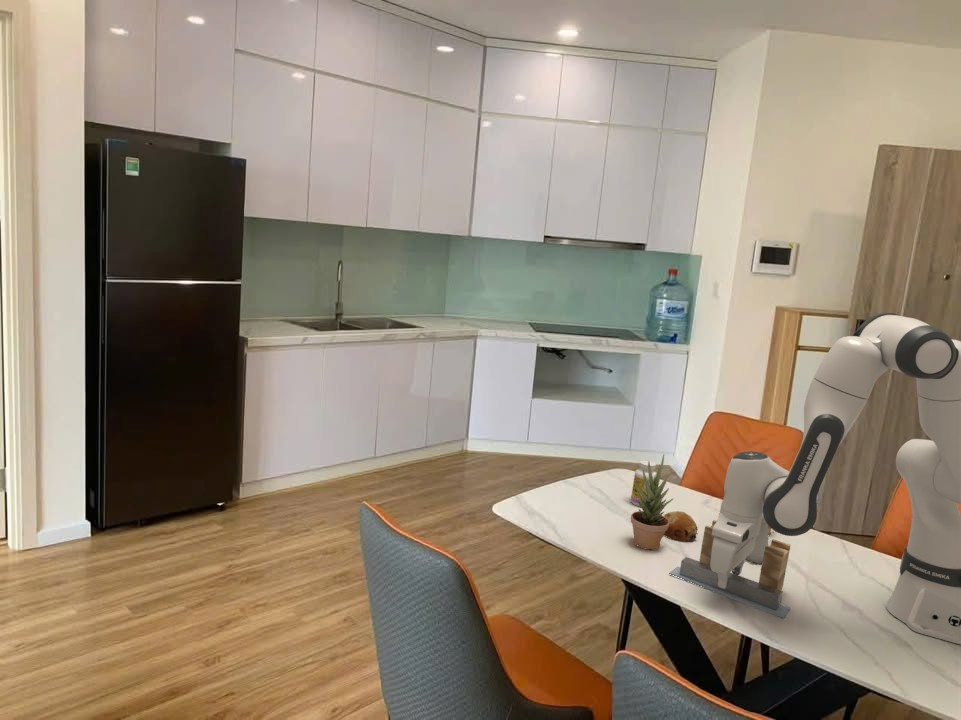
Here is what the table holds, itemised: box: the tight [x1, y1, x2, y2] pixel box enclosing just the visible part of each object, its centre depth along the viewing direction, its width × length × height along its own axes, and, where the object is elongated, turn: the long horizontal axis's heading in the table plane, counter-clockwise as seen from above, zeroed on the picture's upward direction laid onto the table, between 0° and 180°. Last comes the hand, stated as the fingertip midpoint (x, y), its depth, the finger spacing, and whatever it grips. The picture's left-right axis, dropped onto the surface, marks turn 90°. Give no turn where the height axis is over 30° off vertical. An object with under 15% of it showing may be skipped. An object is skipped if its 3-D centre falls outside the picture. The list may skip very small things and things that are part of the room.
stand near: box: [758, 539, 791, 591], centre depth 166 cm, size 4×6×11 cm, turn 143°
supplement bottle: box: [630, 460, 657, 508], centre depth 214 cm, size 7×7×13 cm
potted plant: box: [630, 453, 674, 550], centre depth 183 cm, size 10×10×25 cm
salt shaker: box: [745, 515, 769, 565], centre depth 182 cm, size 6×6×13 cm
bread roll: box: [663, 510, 699, 542], centre depth 195 cm, size 10×10×8 cm
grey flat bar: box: [668, 566, 791, 619], centre depth 164 cm, size 26×5×1 cm, turn 53°
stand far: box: [698, 520, 717, 565], centre depth 174 cm, size 4×6×11 cm, turn 143°
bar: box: [679, 556, 783, 611], centre depth 163 cm, size 22×3×4 cm, turn 53°
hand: (729, 580), depth 163 cm, fingers open, 8 cm apart
